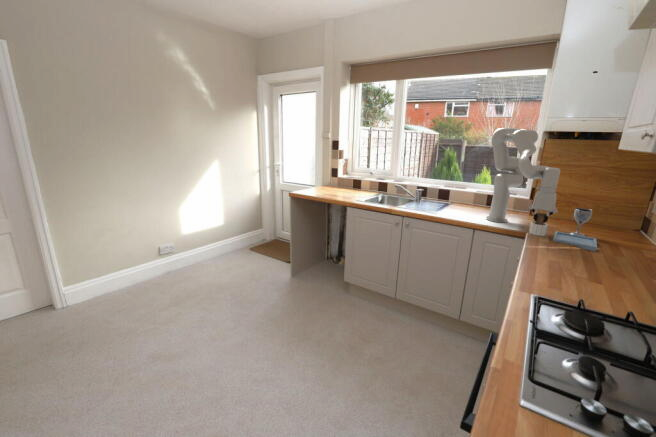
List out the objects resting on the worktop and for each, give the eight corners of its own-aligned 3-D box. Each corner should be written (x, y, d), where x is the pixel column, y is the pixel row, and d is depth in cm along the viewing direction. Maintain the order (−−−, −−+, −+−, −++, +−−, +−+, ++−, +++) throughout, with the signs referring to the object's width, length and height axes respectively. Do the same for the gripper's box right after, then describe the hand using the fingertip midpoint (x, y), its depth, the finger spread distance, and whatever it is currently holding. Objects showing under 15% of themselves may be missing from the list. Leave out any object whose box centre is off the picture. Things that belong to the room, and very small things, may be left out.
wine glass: (570, 234, 178) (576, 210, 173) (567, 231, 184) (573, 207, 180) (587, 237, 174) (594, 212, 170) (583, 233, 181) (590, 209, 177)
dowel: (531, 232, 177) (535, 212, 173) (538, 232, 177) (542, 212, 173) (535, 234, 173) (540, 214, 169) (542, 234, 173) (547, 214, 169)
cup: (525, 232, 179) (528, 221, 177) (538, 233, 179) (541, 221, 177) (534, 237, 171) (537, 225, 169) (548, 237, 171) (551, 225, 169)
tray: (552, 242, 163) (553, 238, 163) (554, 234, 177) (555, 231, 176) (595, 251, 152) (597, 247, 152) (595, 242, 166) (596, 238, 165)
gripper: (528, 188, 170) (521, 220, 175) (565, 193, 160) (557, 226, 165) (530, 187, 175) (523, 217, 181) (566, 191, 165) (558, 223, 170)
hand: (539, 221), depth 173 cm, fingers closed on dowel, 4 cm apart
